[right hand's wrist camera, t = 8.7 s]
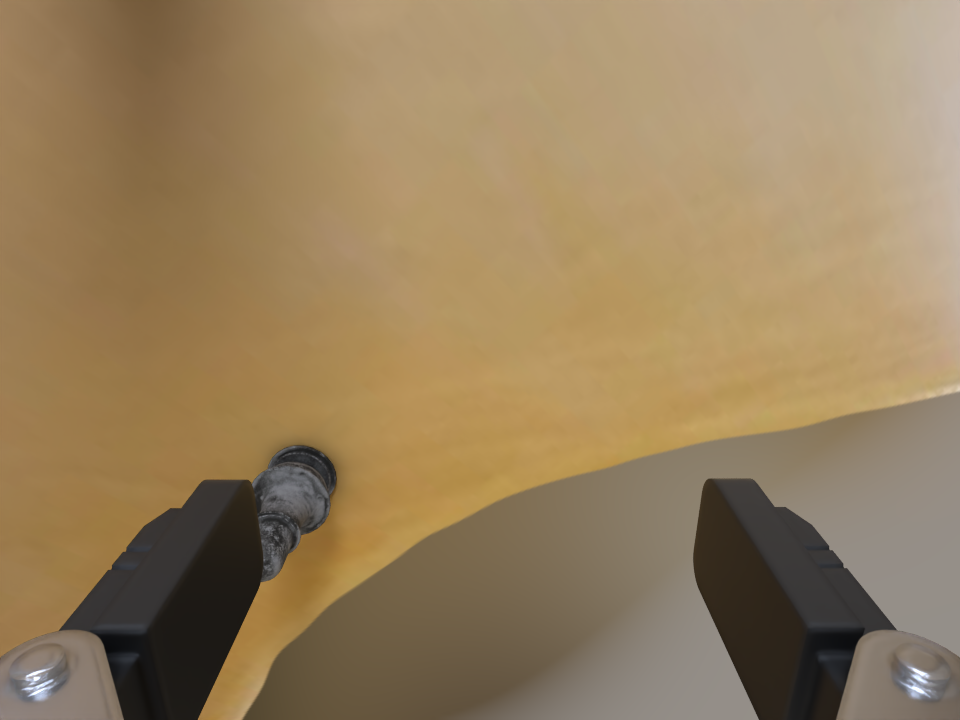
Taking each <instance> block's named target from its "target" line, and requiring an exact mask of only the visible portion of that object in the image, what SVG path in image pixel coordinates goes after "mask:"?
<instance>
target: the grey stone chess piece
mask: <svg viewBox="0 0 960 720" xmlns="http://www.w3.org/2000/svg"><path fill="white" fill-rule="evenodd" d="M335 484H336V472H335V469H334V467H333V464H332V463H331V462H330V460H329V459H328V458H327V457H326V456H325V455H324V454H322V453H321V452H320V451H318V450H316V449H313V448H311V447H306V446H291V447H287V448H284V449H283V450H281V451H279V452H278V453H277V454H276V455H275V456H274V457H273V458H272V459H271V461H270V463H269V465H268V469H267V470H265V471H264V472H262V473H260V474H259V475H258V476H257V477H256V478H255V479H254V481H253V483H252V486H253V489H254V494H255V501H256V507H257V514H258V521H259V528H260V535H261V542H262V548H263V572H262V578H261V582H264V581H268V580H271V579H273V578H274V577H275V576H276V575H277V574H278V573H279V572H280V570H281V569H282V567H283V564H284V562H285V560H286V557H287V555H288V554H289V553H291V552H292V551H293V550H294V549H295V548H296V547H297V546H298V544H299V542H300V538H301V535H303V534H307V533H310V532H312V531H314V530H316V529H318V528H319V527H320V526H321V525H322V524H323V523H324V522H325V520H326V518H327V516H328V515H329V510H330V495H331V493H332V491H333V490H334V488H335Z"/></svg>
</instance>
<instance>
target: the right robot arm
mask: <svg viewBox="0 0 960 720" xmlns="http://www.w3.org/2000/svg"><path fill="white" fill-rule="evenodd" d="M693 563H694V573H695V578H696V582H697V585H698V588H699V590H700V593H701V595H702V597H703V599H704V601H705V603H706V606H707V608H708V610H709V612H710V614H711V616H712V619H713V621H714V623H715V625H716V627H717V629H718V632H719V634H720V636H721V638H722V640H723V642H724V644H725V647H726V649H727V651H728V653H729V655H730V658H731V660H732V662H733V664H734V666H735V668H736V671H737V673H738V675H739V677H740V679H741V682H742V684H743V686H744V688H745V690H746V692H747V695H748V697H749V699H750V701H751V703H752V705H753V708H754V710H755V712H756V714H757V716H758V718H759V720H960V658H959V657H958V656H957V655H956V654H954V653H953V652H951V651H949V650H948V649H946V648H945V647H943V646H941V645H939V644H937V643H935V642H933V641H931V640H928V639H926V638H924V637H921V636H918V635H915V634H911V633H907V632H903V631H897V630H896V628H895V627H894V626H893V625H892V623H891V622H890V621H889V620H888V618H887V617H886V616H885V615H884V614H883V612H882V611H881V610H880V609H879V607H878V606H877V605H876V604H875V602H874V601H873V600H872V599H871V597H870V596H869V595H868V594H867V593H866V591H865V590H864V589H863V588H862V586H861V585H860V584H859V583H858V581H857V580H856V579H855V578H854V576H853V575H852V574H851V573H850V571H849V570H848V569H847V568H844V567H843V563H842V562H841V560H840V559H839V558H838V557H837V555H836V554H835V553H834V552H833V551H832V550H829V545H828V544H827V543H826V542H825V541H824V539H823V538H822V537H821V536H820V534H819V533H818V532H817V531H816V529H815V528H814V527H813V526H812V525H811V524H810V523H808V522H807V521H805V520H804V519H802V518H801V517H799V516H798V515H796V514H795V513H793V512H792V511H790V510H789V509H787V508H786V507H774V505H773V504H772V503H771V502H770V500H769V499H768V498H767V496H766V495H765V493H764V492H763V491H762V489H761V488H760V487H759V485H758V484H757V483H756V482H755V481H754V480H753V479H708V480H706V482H705V484H704V486H703V491H702V497H701V504H700V511H699V518H698V525H697V531H696V539H695V545H694V554H693ZM262 572H263V548H262V542H261V535H260V528H259V521H258V514H257V507H256V501H255V494H254V489H253V486H252V484H251V482H250V481H249V480H204V481H202V482H201V483H200V484H199V486H198V487H197V488H196V490H195V491H194V492H193V494H192V495H191V496H190V497H189V499H188V500H187V501H186V503H185V504H184V505H183V507H182V508H170V509H169V510H168V511H166V512H165V513H163V514H162V515H160V516H159V517H157V518H156V519H154V520H153V521H151V522H150V523H148V524H147V525H145V526H144V527H143V528H142V529H141V531H140V532H139V533H138V534H137V535H136V537H135V538H134V539H133V540H132V542H131V543H130V544H129V545H128V546H127V550H126V552H123V553H122V554H121V555H120V556H119V558H118V559H117V560H116V561H115V562H114V564H113V565H112V570H108V571H107V572H106V573H105V575H104V576H103V577H102V578H101V580H100V581H99V582H98V583H97V585H96V586H95V587H94V588H93V589H92V591H91V592H90V593H89V594H88V596H87V597H86V598H85V599H84V600H83V602H82V603H81V604H80V605H79V607H78V608H77V609H76V610H75V611H74V613H73V614H72V615H71V616H70V618H69V619H68V620H67V621H66V623H65V624H64V625H63V626H62V627H61V629H60V630H59V631H57V632H53V633H49V634H45V635H42V636H39V637H36V638H34V639H32V640H29V641H27V642H25V643H23V644H21V645H19V646H17V647H15V648H14V649H12V650H11V651H9V652H7V653H6V654H4V655H3V656H2V657H0V720H198V717H199V715H200V713H201V711H202V709H203V707H204V705H205V703H206V700H207V698H208V696H209V694H210V692H211V690H212V688H213V685H214V683H215V681H216V679H217V677H218V675H219V673H220V670H221V668H222V666H223V664H224V662H225V660H226V658H227V655H228V653H229V651H230V649H231V647H232V645H233V643H234V640H235V638H236V636H237V634H238V632H239V630H240V628H241V625H242V623H243V621H244V619H245V617H246V615H247V613H248V610H249V608H250V606H251V604H252V602H253V600H254V598H255V595H256V593H257V591H258V589H259V586H260V582H261V578H262Z"/></svg>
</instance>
